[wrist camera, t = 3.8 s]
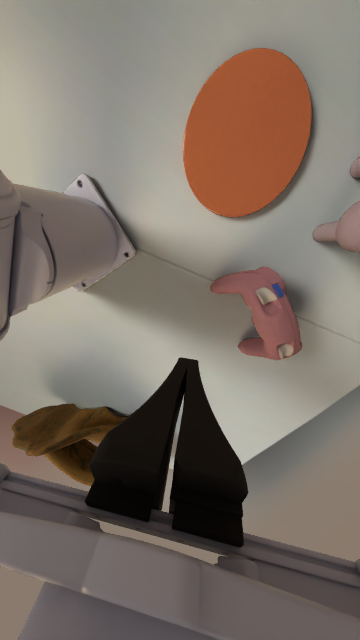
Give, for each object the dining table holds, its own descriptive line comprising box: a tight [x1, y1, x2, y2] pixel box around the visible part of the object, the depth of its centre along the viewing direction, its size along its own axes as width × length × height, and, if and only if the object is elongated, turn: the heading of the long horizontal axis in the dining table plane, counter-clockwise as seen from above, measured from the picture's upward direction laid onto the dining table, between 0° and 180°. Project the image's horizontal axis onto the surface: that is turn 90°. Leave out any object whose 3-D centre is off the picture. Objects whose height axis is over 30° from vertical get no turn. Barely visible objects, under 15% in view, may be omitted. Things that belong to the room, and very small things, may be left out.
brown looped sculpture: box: [12, 404, 128, 486], centre depth 29 cm, size 18×13×22 cm
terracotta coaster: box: [183, 48, 312, 217], centre depth 13 cm, size 9×9×1 cm
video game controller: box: [210, 267, 302, 360], centre depth 17 cm, size 10×5×7 cm, turn 29°
